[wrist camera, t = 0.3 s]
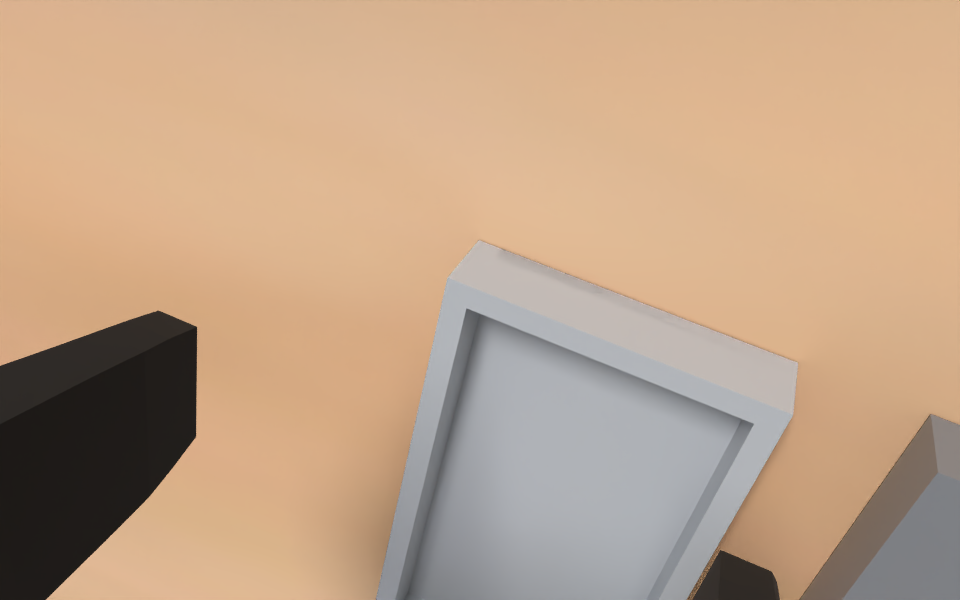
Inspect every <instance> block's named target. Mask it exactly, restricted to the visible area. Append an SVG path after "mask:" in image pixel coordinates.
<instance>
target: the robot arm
mask: <svg viewBox="0 0 960 600" xmlns="http://www.w3.org/2000/svg"><path fill="white" fill-rule="evenodd" d="M196 381H197V327H196V326H193V325H191V324H189V323H186V322H184V321H182V320H179V319H177V318H175V317H172V316H170V315H168V314H165V313H163V312H161V311H156V312H153V313H150V314H147V315H143V316H140V317H137V318H134V319H131V320H128V321H126V322H123V323H120V324H117V325H114V326H111V327H108V328H106V329H103V330H100V331H97V332H95V333H92V334H89V335H86V336H83V337H81V338H78V339H75V340H72V341H70V342H67V343H64V344H61V345H59V346H56V347H53V348H50V349H47V350H44V351H41V352H39V353H36V354H33V355H30V356H27V357H24V358H21V359H19V360H16V361H13V362H10V363H7V364H4V365H1V366H0V600H46V599H47V598H48V597H49V596H50V595H51V594H52V593H53V592H54V591H55V590H56V589H57V588H58V587H59V586H60V585H61V584H62V583H63V582H64V581H65V580H66V579H67V578H68V577H69V576H70V575H71V574H72V573H73V572H74V571H75V570H76V569H77V568H78V567H79V566H80V565H81V564H82V563H83V562H84V561H85V560H86V559H87V558H88V557H90V556H91V555H92V554H93V553H94V552H95V551H96V550H97V549H98V548H99V547H100V546H101V545H102V544H103V543H104V542H105V541H106V540H107V539H108V538H109V537H110V536H111V535H112V534H113V533H114V532H115V531H116V530H117V529H118V528H119V527H120V526H121V525H122V524H123V523H124V522H125V521H126V520H127V519H128V518H129V517H130V516H131V515H132V514H133V513H134V512H135V511H136V510H137V509H138V508H139V507H140V506H141V505H142V504H143V503H144V501H145V500H146V499H147V498H148V497H149V496H150V495H151V494H152V493H153V491H154V490H155V489H156V488H157V486H158V485H159V484H160V483H161V482H162V480H163V479H164V478H165V477H166V475H167V474H168V473H169V472H170V470H171V469H172V468H173V467H174V465H175V464H176V463H177V461H178V460H179V459H180V457H181V456H182V455H183V453H184V452H185V451H186V449H187V448H188V447H189V445H190V444H191V443H192V441H193V440H194V439H195V437H196ZM693 600H780V598H779V592H778V586H777V582H776V579H775V577H774V575H773V573H772V572H771V571H769V570H766V569H764V568H762V567H759V566H757V565H755V564H752V563H750V562H747V561H745V560H743V559H740V558H738V557H736V556H733V555H731V554H729V553H726V552H724V551H722V550H720V552H719V554H718V556H717V557H716V559H715V561H714V563H713V565H712V566H711V568H710V570H709V572H708V573H707V575H706V577H705V579H704V581H703V582H702V584H701V586H700V588H699V589H698V591H697V593H696V595H695V597H694V598H693Z"/></svg>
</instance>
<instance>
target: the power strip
mask: <svg viewBox="0 0 960 600" xmlns="http://www.w3.org/2000/svg"><path fill="white" fill-rule="evenodd" d="M800 600H960V425H958V424H955V423H953V422H950V421H948V420H945V419H942V418H940V417H937V416H935V415H932V414H930V416H929V417H928V419H927V420H926V422H925V423H924V424H923V426H922V427H921V429H920V430H919V431H918V433H917V434H916V436H915V437H914V439H913V440H912V441H911V443H910V444H909V446H908V447H907V448H906V450H905V451H904V453H903V454H902V456H901V457H900V458H899V460H898V461H897V463H896V464H895V465H894V467H893V468H892V470H891V471H890V473H889V474H888V475H887V477H886V478H885V480H884V481H883V482H882V484H881V485H880V487H879V488H878V490H877V491H876V492H875V494H874V495H873V497H872V498H871V499H870V501H869V502H868V504H867V505H866V507H865V508H864V509H863V511H862V512H861V514H860V515H859V516H858V518H857V519H856V521H855V522H854V524H853V525H852V526H851V528H850V529H849V531H848V532H847V533H846V535H845V536H844V538H843V539H842V541H841V542H840V543H839V545H838V546H837V548H836V549H835V550H834V552H833V553H832V555H831V556H830V558H829V559H828V560H827V562H826V563H825V565H824V566H823V567H822V569H821V570H820V572H819V573H818V575H817V576H816V577H815V579H814V580H813V582H812V583H811V584H810V586H809V587H808V589H807V590H806V591H805V593H804V594H803V596H802V597H801V599H800Z"/></svg>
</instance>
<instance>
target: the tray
mask: <svg viewBox="0 0 960 600" xmlns="http://www.w3.org/2000/svg"><path fill="white" fill-rule="evenodd" d="M797 370H798V363H797V362H794V361H792V360H789V359H787V358H784V357H781V356H779V355H776V354H774V353H771V352H768V351H766V350H763V349H761V348H758V347H755V346H753V345H750V344H748V343H745V342H742V341H740V340H737V339H735V338H732V337H729V336H727V335H724V334H722V333H719V332H716V331H714V330H711V329H709V328H706V327H703V326H701V325H698V324H696V323H693V322H690V321H688V320H685V319H683V318H680V317H677V316H675V315H672V314H670V313H667V312H664V311H662V310H659V309H657V308H654V307H651V306H649V305H646V304H644V303H641V302H638V301H636V300H633V299H631V298H628V297H625V296H623V295H620V294H618V293H615V292H612V291H610V290H607V289H605V288H602V287H599V286H597V285H594V284H592V283H589V282H586V281H584V280H581V279H579V278H576V277H573V276H571V275H568V274H566V273H563V272H560V271H558V270H555V269H553V268H550V267H547V266H545V265H542V264H540V263H537V262H534V261H532V260H529V259H527V258H524V257H521V256H519V255H516V254H514V253H511V252H508V251H506V250H503V249H501V248H498V247H495V246H493V245H490V244H488V243H485V242H482V241H480V240H479V241H478V242H477V243H476V244H475V245H474V247H473V248H472V249H471V250H470V251H469V253H468V254H467V255H466V256H465V257H464V259H463V260H462V261H461V262H460V263H459V265H458V266H457V267H456V268H455V269H454V271H453V272H452V273H451V274H450V275H449V277H448V278H447V283H446V287H445V292H444V296H443V301H442V305H441V310H440V314H439V319H438V323H437V328H436V332H435V336H434V341H433V345H432V350H431V354H430V359H429V363H428V368H427V372H426V377H425V381H424V386H423V390H422V395H421V399H420V404H419V408H418V413H417V417H416V422H415V426H414V431H413V435H412V440H411V444H410V449H409V453H408V458H407V462H406V467H405V471H404V476H403V480H402V485H401V489H400V494H399V498H398V503H397V507H396V512H395V516H394V521H393V525H392V530H391V534H390V539H389V543H388V548H387V552H386V557H385V561H384V566H383V570H382V575H381V579H380V584H379V588H378V592H377V597H376V600H687V598H688V596H689V594H690V593H691V591H692V589H693V588H694V586H695V584H696V582H697V581H698V579H699V577H700V575H701V574H702V572H703V570H704V568H705V567H706V565H707V563H708V562H709V560H710V558H711V556H712V555H713V553H714V551H715V549H716V548H717V546H718V544H719V542H720V541H721V539H722V537H723V536H724V534H725V532H726V530H727V529H728V527H729V525H730V523H731V522H732V520H733V518H734V516H735V515H736V513H737V511H738V510H739V508H740V506H741V504H742V503H743V501H744V499H745V497H746V496H747V494H748V492H749V490H750V489H751V487H752V485H753V484H754V482H755V480H756V478H757V477H758V475H759V473H760V471H761V470H762V468H763V466H764V464H765V463H766V461H767V459H768V458H769V456H770V454H771V452H772V451H773V449H774V447H775V445H776V444H777V442H778V440H779V438H780V437H781V435H782V433H783V432H784V430H785V428H786V426H787V425H788V423H789V421H790V419H791V418H792V416H793V411H794V401H795V391H796V380H797Z"/></svg>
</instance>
